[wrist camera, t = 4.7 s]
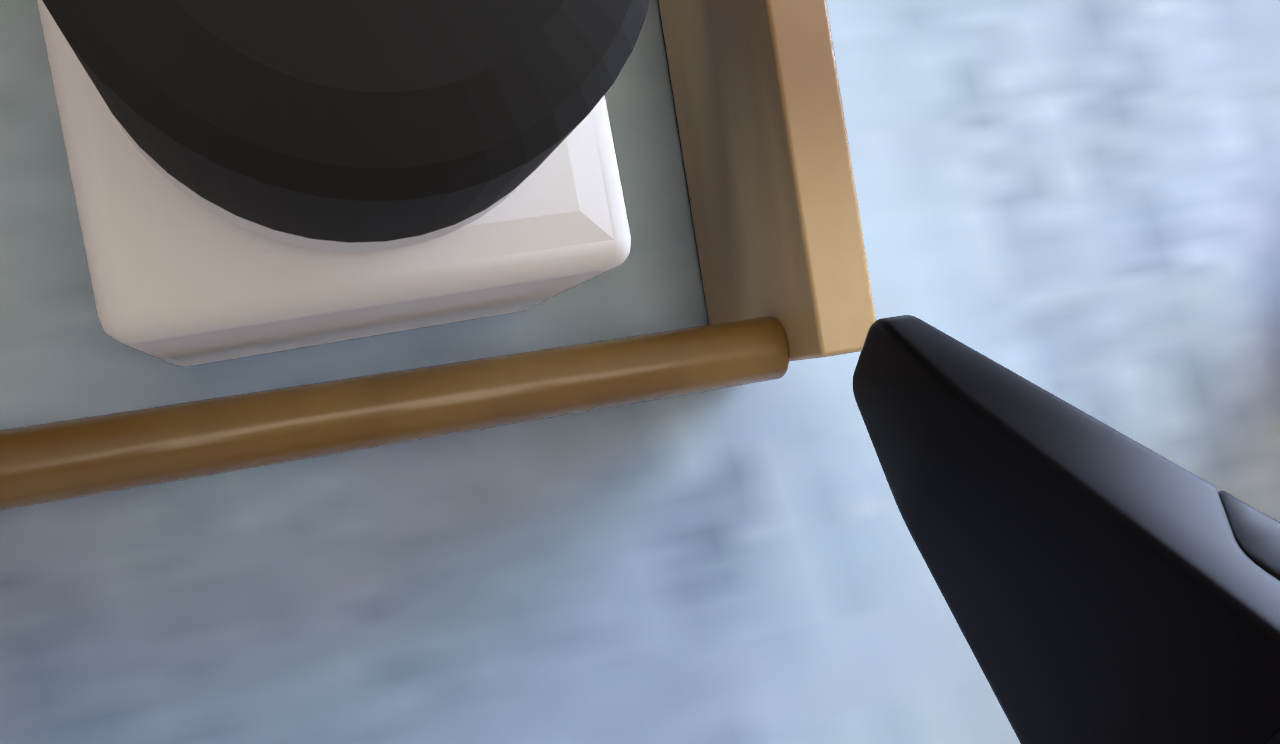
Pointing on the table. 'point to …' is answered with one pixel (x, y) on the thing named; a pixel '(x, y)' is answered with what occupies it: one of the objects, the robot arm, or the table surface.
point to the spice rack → (585, 373)
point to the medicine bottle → (335, 162)
